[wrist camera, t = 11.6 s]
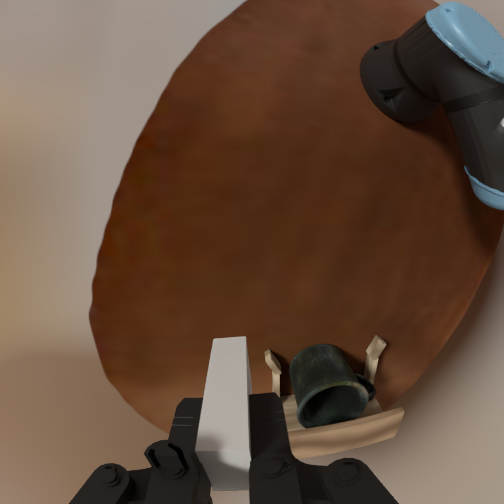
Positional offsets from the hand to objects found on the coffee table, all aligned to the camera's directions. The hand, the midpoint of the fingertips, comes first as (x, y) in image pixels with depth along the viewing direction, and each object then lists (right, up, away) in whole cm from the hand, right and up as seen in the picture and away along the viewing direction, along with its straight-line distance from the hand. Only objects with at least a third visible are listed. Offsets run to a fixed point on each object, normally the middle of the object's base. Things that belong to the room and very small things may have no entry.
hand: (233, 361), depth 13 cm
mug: (+14, -15, +34) cm, 40 cm away
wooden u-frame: (+14, -18, +34) cm, 41 cm away
